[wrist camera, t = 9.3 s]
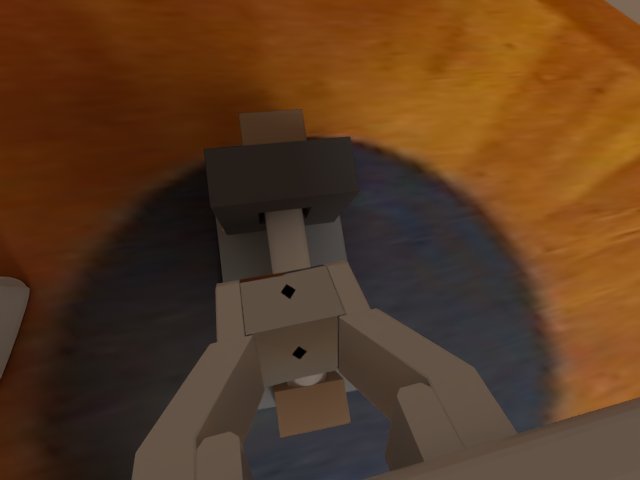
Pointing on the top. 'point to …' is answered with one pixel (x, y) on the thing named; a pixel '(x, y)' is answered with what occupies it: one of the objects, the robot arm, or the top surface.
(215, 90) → the top surface
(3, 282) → the photo printer
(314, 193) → the collar
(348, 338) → the robot arm
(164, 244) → the top surface
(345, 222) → the top surface
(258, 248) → the pipe rig
